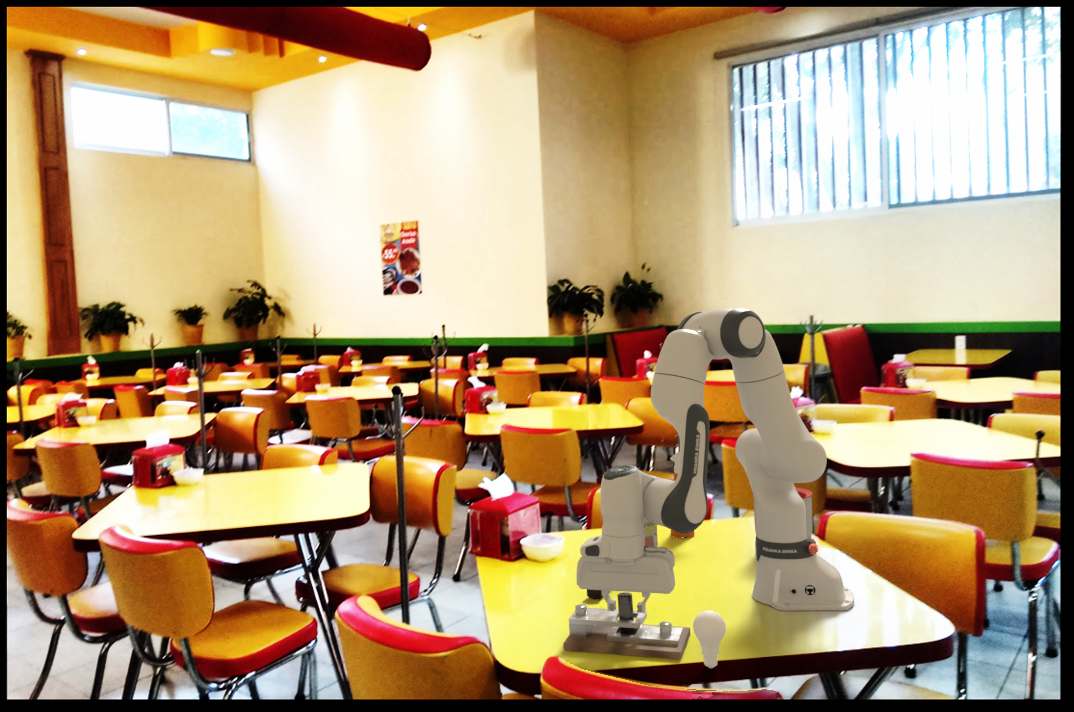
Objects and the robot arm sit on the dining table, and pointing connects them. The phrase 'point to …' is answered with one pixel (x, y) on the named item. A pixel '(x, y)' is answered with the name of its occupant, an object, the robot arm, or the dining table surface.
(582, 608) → the metal clamp fixture
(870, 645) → the dining table surface
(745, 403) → the robot arm
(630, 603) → the steel pin
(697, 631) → the lightbulb
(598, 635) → the walnut board
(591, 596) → the hand tool
